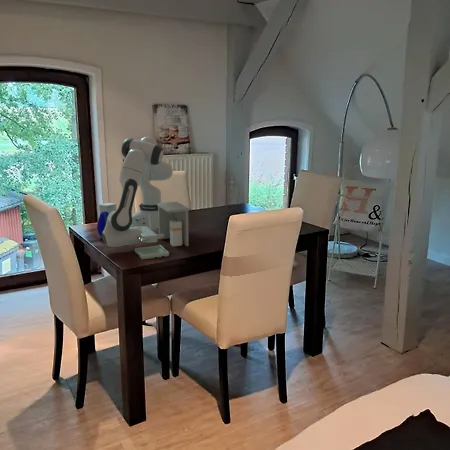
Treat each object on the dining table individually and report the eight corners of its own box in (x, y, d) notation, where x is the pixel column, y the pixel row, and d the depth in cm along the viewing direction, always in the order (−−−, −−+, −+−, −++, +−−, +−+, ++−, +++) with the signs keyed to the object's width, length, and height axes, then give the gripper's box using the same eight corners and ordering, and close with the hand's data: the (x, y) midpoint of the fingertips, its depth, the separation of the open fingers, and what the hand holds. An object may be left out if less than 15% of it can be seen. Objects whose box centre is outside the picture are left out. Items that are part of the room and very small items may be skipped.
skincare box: (107, 232, 284) (106, 205, 280) (99, 230, 287) (98, 204, 283) (118, 229, 291) (116, 203, 287) (109, 227, 294) (108, 202, 290)
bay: (169, 248, 253) (168, 210, 248) (158, 239, 270) (157, 203, 265) (189, 246, 258) (189, 208, 253) (177, 236, 275) (176, 201, 270)
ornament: (114, 239, 268) (113, 213, 264) (97, 240, 266) (95, 213, 263) (114, 234, 279) (113, 208, 275) (98, 235, 277) (96, 209, 273)
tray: (142, 259, 236) (141, 255, 235) (134, 251, 248) (134, 248, 247) (168, 255, 241) (168, 252, 241) (160, 248, 253) (160, 244, 253)
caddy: (173, 246, 257) (172, 219, 253) (170, 243, 261) (169, 217, 258) (182, 245, 259) (181, 218, 255) (179, 242, 263) (178, 216, 260)
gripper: (140, 234, 240) (167, 231, 245) (129, 225, 258) (155, 222, 263) (140, 247, 241) (167, 243, 247) (130, 236, 259) (155, 233, 265)
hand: (161, 232), depth 255 cm, fingers open, 8 cm apart
